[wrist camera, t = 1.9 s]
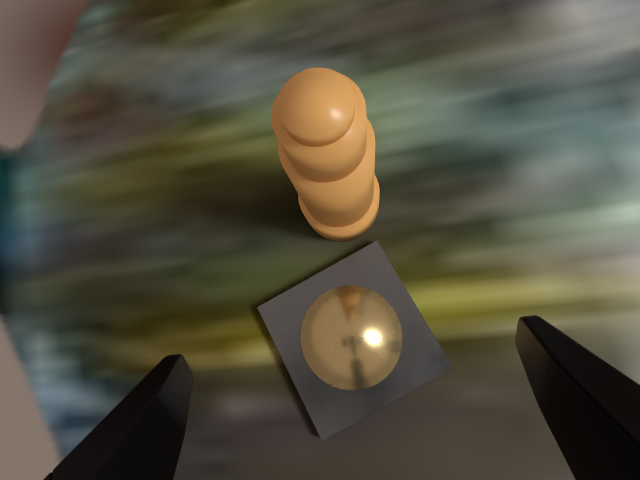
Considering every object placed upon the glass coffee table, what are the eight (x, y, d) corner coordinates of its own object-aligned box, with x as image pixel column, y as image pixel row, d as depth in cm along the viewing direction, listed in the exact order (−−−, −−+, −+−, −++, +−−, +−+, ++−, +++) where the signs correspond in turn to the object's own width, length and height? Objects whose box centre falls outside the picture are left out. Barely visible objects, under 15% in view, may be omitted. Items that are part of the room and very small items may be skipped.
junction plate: (323, 437, 22) (321, 441, 21) (259, 307, 24) (256, 307, 23) (451, 367, 22) (453, 368, 21) (376, 242, 24) (376, 240, 23)
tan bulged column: (327, 255, 24) (285, 195, 12) (292, 193, 25) (224, 83, 13) (392, 218, 24) (415, 122, 12) (355, 158, 25) (342, 16, 13)
